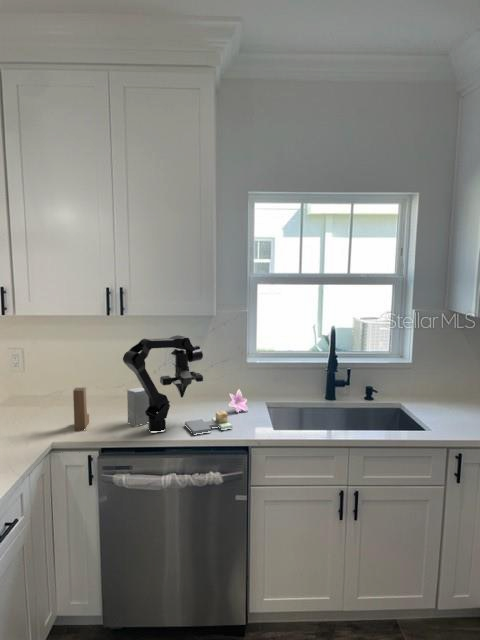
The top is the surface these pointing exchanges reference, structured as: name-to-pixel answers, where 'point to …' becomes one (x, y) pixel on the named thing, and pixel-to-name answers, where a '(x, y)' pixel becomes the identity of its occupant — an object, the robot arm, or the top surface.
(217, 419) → the maple block
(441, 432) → the top surface
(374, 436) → the top surface
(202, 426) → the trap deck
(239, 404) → the lily
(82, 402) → the wooden block
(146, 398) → the skincare box
